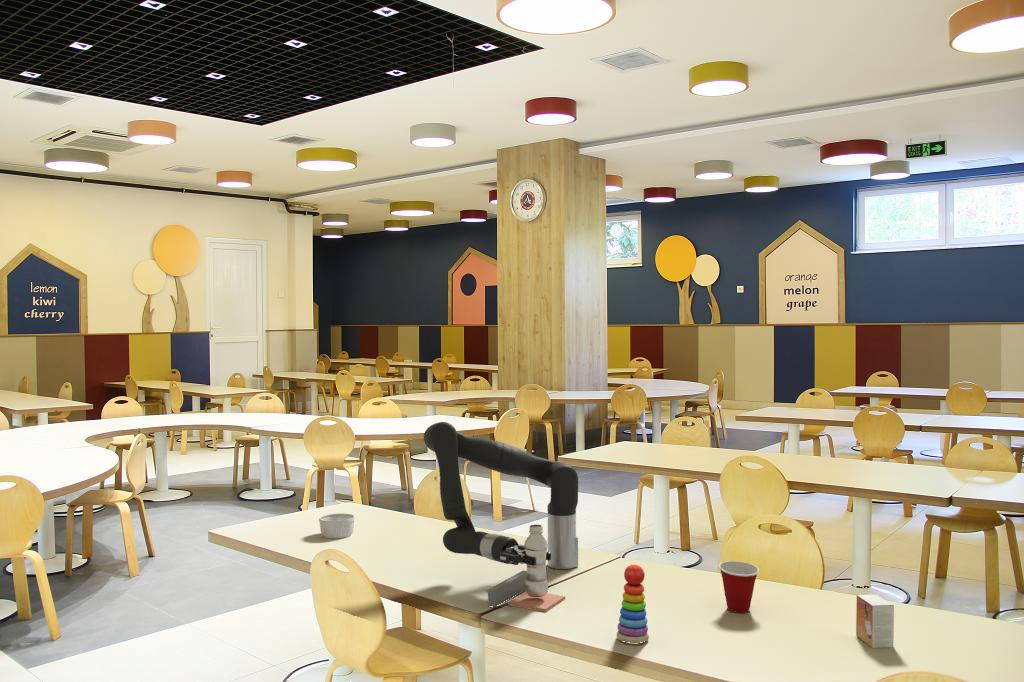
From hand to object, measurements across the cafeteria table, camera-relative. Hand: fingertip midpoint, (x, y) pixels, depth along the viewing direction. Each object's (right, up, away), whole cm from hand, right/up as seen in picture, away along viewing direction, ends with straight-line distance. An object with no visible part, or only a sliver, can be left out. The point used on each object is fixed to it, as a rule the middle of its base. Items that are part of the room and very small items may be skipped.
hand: (542, 559), depth 236 cm
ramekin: (-74, -12, +78) cm, 108 cm away
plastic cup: (+53, -13, -6) cm, 55 cm away
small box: (+81, -13, -29) cm, 87 cm away
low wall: (-9, -13, +6) cm, 17 cm away
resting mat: (-2, -13, +2) cm, 13 cm away
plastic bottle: (-2, -11, +2) cm, 11 cm away
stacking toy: (+21, -13, -27) cm, 37 cm away
